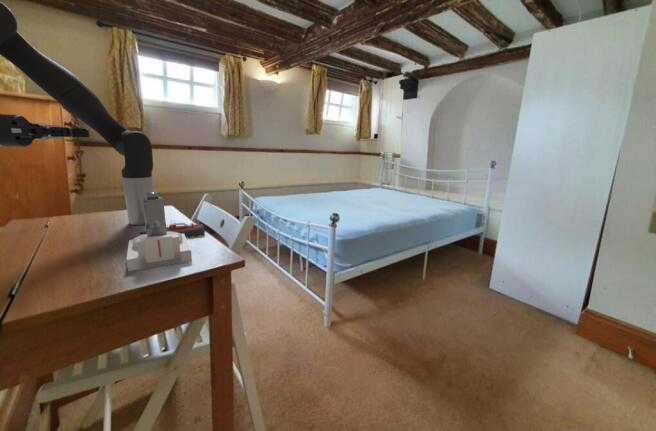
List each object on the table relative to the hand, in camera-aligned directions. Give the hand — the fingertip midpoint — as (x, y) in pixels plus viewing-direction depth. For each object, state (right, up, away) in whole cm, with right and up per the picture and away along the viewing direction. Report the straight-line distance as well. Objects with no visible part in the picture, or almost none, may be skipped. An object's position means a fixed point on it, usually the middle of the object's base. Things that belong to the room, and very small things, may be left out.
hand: (80, 132), depth 75 cm
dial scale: (+17, -32, +5) cm, 37 cm away
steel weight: (+16, -27, +6) cm, 32 cm away
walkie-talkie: (+12, -28, +23) cm, 38 cm away
